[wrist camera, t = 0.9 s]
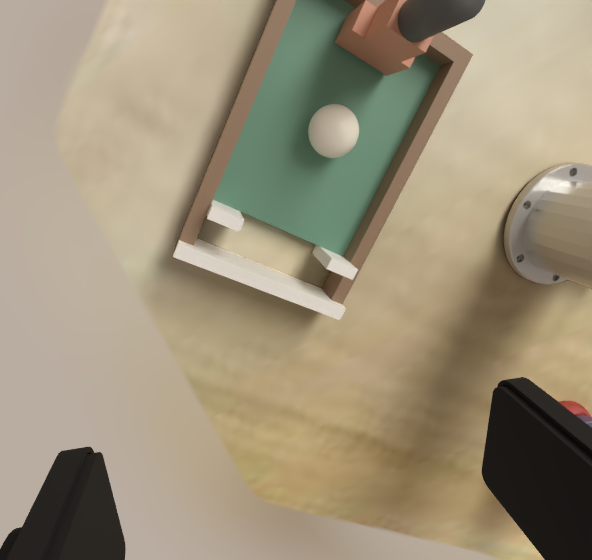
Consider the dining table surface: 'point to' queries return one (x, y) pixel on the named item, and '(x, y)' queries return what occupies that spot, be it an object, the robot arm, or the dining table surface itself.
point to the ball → (333, 131)
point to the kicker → (400, 29)
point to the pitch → (305, 160)
